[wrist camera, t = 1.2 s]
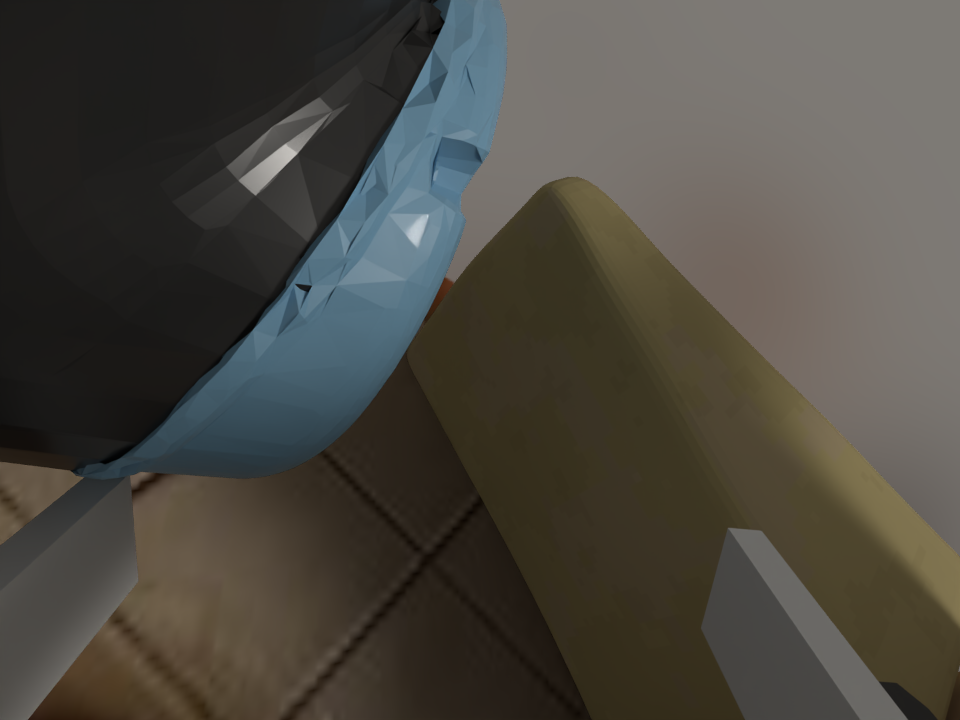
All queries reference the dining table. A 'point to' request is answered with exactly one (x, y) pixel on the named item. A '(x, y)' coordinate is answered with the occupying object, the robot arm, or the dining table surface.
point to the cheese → (662, 467)
